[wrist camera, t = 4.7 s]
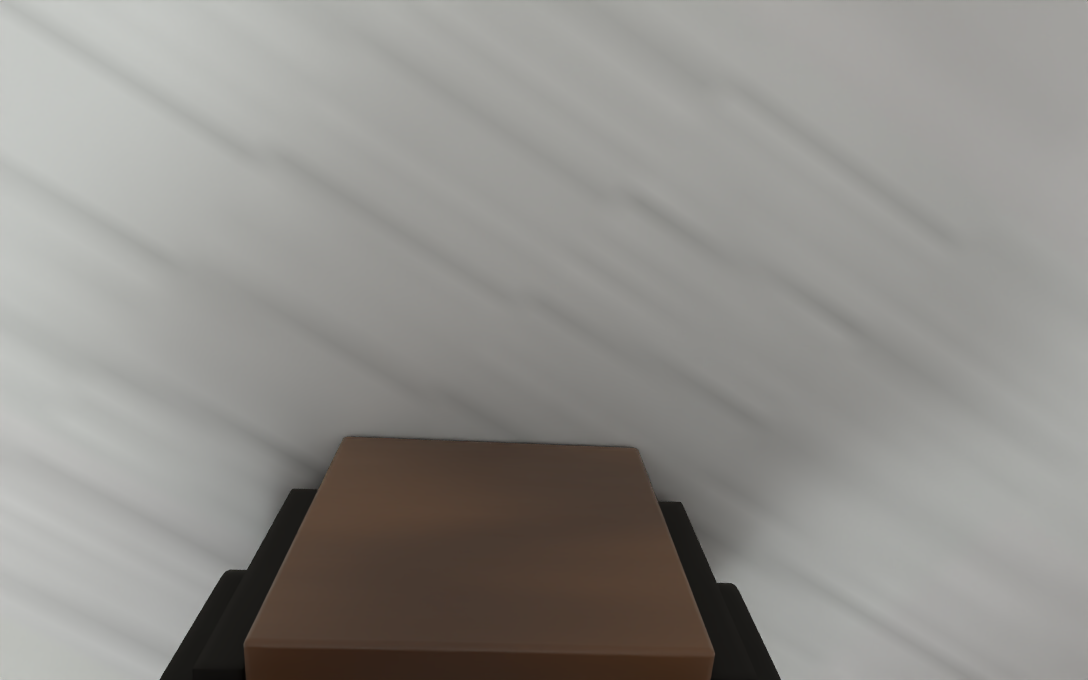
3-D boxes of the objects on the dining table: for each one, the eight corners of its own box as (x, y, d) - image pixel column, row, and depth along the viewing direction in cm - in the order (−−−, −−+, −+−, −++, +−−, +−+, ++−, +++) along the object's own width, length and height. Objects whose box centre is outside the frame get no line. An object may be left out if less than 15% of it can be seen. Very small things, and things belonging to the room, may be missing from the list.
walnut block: (638, 445, 12) (717, 652, 7) (611, 682, 13) (664, 974, 9) (342, 434, 11) (239, 641, 7) (346, 677, 13) (263, 978, 8)
